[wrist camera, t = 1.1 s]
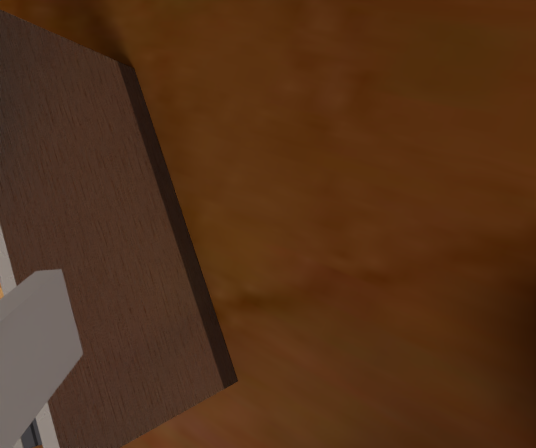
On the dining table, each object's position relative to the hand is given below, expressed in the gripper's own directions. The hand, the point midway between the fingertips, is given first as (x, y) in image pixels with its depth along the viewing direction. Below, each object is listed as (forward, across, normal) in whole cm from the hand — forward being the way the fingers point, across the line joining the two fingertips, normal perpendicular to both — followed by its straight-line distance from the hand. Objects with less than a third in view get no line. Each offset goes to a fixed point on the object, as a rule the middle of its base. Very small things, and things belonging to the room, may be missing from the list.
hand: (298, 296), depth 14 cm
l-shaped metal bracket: (+26, -18, -8) cm, 32 cm away
